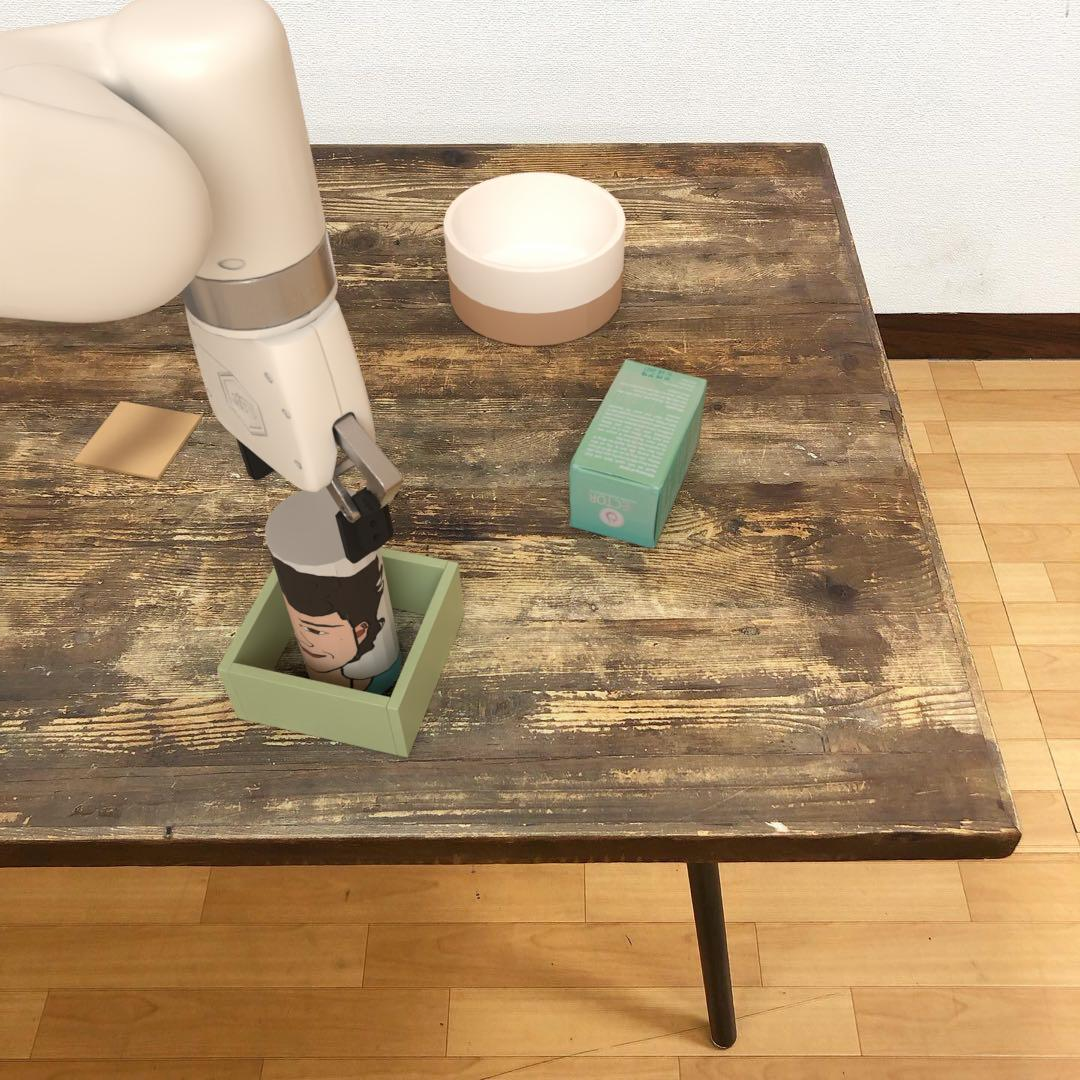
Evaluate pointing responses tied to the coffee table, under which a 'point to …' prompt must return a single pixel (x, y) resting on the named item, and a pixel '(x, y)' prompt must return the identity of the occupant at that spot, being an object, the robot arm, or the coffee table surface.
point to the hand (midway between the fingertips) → (320, 506)
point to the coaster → (138, 440)
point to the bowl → (535, 257)
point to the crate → (336, 707)
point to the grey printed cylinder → (333, 596)
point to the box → (636, 453)
